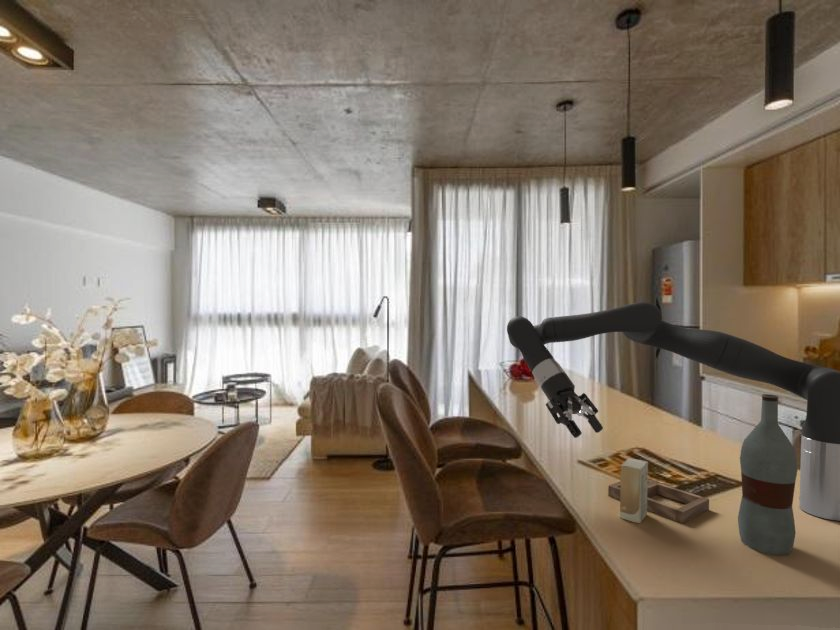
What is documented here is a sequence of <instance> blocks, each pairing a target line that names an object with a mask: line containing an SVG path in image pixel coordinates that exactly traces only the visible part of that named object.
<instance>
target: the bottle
mask: <svg viewBox="0 0 840 630" xmlns="http://www.w3.org/2000/svg"><path fill="white" fill-rule="evenodd" d="M779 398H780V397H779V396H778V395H775V394H771V393H770V394H769V393H766V394H765V393H762V395H761V407H760V408H761V409H760V411H761V412H760V421H759V422H758V423H757V424H756V425H755V427H754V428H753V429H752V431H750V432H749V434H748V435H747V436H746V437H745V438H744V439H743V441H742V445H741V448H740V455H739V461H740V462H739V464H740V473H741V492H742V493H741V494H742V496H741V500H740V505H739V508H738V509H739V510H738V515H737V523H738V524H737V525H738V531H739V532H738V533H739V537H740V540H741V542H742V543H743V544H744V545H746V546H747V547H748V548H750V549H753V550H755V551H758V552H760V553H764V554H766V555H767V554H769V555H773V556H787V555H789V554H790V553H791V552H792V550H793V547H794V544H795V539H796V538H795V537H796V533H797V532H796V525H795V516H794V510H793V502H794V497H795V496H794V495H795V488H796V487H795V486H796V482H797V481H796V480H797V479H796V478H797V474H798V470H799V467H798V458H797V453H796V450H795V447H794V445H793V444H792V442H791V441H790V439H789V438H788V437H787V435H786V433H785V432H784V430H783V429H782V427H781V426H780V424H779V423H778V422H779V421H778V420H779V419H778V418H779Z"/></svg>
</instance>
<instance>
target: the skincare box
mask: <svg viewBox="0 0 840 630" xmlns="http://www.w3.org/2000/svg"><path fill="white" fill-rule="evenodd" d="M648 467H649V462H648V461H646V460H641V459H637V458H636V459H635V458H629V457H628V458H627V459H626V460H625V461H623V462H622V463H621V465H620V481H621V492H620V500H619V503H620V504H619V518H620V519H623V520H626V521H629V522H633V523H636V524H641V522H642V521H643V520H644V519H645V517H646V516H647V514H648V510H647V483H648V480H649V479H648V477H649V476H648V475H649V468H648Z"/></svg>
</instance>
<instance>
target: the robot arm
mask: <svg viewBox="0 0 840 630" xmlns="http://www.w3.org/2000/svg"><path fill="white" fill-rule="evenodd" d="M506 332H507V335H508V340H509V343H510V344H511V345H512V346H513V347H514V348H516V349H518V350H519V352H520V353H521V355H522V358H523V361H524V363H525V364H526V365H527V367H528V369H529V370H530V372H531V373H532V375H533V378H534V379H535V381H536V383H537V384H538V386H539V387H540V389H541V390H542V392H543V393H544V395H545V396H546V398H547V399H548V401H547V402H546V403H545V406H546V408H547V410H548V411H549V413H550V415H551V416H552V418H553V420H554V421H555V423H556V424H558V425H560V424H562V425H563V426H565V427H566V428H567V430H568V432H569V433H570V434H571V435H572V437H573V439H574V438H575V439H577V438H579V437H580V436H581V435H582V432H583V431H581V429H580V427H579V426H578V425H577V423H576V422H575V420H574V419H573V415H576V416H579V417H583V418H584V419H586V420H587V422H588V424H589V425H590V427H591V428H592V429H593V431H594V433H597V434H598V433H600V432H601V431H602V430H603V429H604V426H603V425H602V424H601V423H600V421H599V419H598V418H597V416H596V415H597V413H599V410H598V408H597V407H596V405H595V404H594V403H593V402H592V400H591V399H590V398H589V396H588V395H587V394H586V393H584V392H583V393H582V394H580V395H578V394H577V393H576V392H575V387H576V386H575V384H574V383H573V381H572V380H571V378H570V377H569V376H568V374H567V373H566V371H565V370H564V369H563V367H562V366H561V365H560V363H558V361H557V360H556V359H555V357H554V356H553V355H552V353H551V351H549V349H548V348H547V347H546V346H545V345H548V344H551V343H553V344H554V343H564V342H565V343H566V342H573V341H578V340H583V339H587V338H590V337H594V336H598V335H602V334H603V335H604V334H607V333H623V335H624V336H625V337H626V338H627V339H628V340H630V341H632V342H635V343H638V344H642V345H646V346H649V347H653V348H657V349H660V350H665V351H668V352H670V353H673V354H675V355H676V354H677V355H679V356H681V357H684V358H686V359H688V360H690V361H694V362H697V363H700V364H701V365H704V366H707V367H709V368H712V369H714V370H718V371H720V372H722V373H726V374H729V375H732V376H734V377H739V378H743V379H746V380H751V381H756V382H761V383H766V384H769V385H771V386H775V387H778V388H779V389H780V388H781V389H782V390H785V391H788V392H790V393H792V394H794V395H797V396H798V397H800V398H802V399H804V400H806V401H807V402H806V416H805V420H804V422H803V423H802V425H801V439H800V440H801V445H800V469H799V471H800V472H799V474H800V475H799V496H798V497H799V498H798V499H799V502H798V503H799V504H798V506H799V507H798V508H799V509H800V510H802V511H804V512H805V513H807V514H809V515H812V516H815V517H817V518H818V517H819V518H822V519H826V520H831V521H839V522H840V371H839V370H836V369H833V368H829V367H826V366H825V367H824V366H820V365H816V364H811V363H806V362H803V361H800V360H799V361H798V360H795V359H791V358H787V357H785V356H782V355H780V354H778V353H775V352H773V351H772V350H770V349H767V348H766V347H763V346H761V345H759V344H756V343H754V342H751V341H749V340H746V339H743V338H740V337H738V336H735V335H731V334H729V333H726V332H722V331H719V330H718V331H717V330H709V329H699V328H688V327H687V328H686V327H682V326H679V325H675V324H672V323H670V322H666V321H664V320H663V315H662V311H661V310H660V308H659V307H658V306H656V305H655V304H653V303H650V302H646V301H638V302H634V303H629V304H625V305H621V306H617V307H615V308H610V309H605V310H604V309H603V310H600V311H599V310H598V311H596V312H595V311H594V312H589V313H583V314H581V313H580V314H573V315H563V316H554V317H552V316H551V317H546V318H544V319H543V320H542V322H541V323H539V324H535V325H534V324H533V323H532V322H531V320H529V319H528V318H526V317H524V316H514V317H512V318H511V319H510V320H508V323H507V324H506Z"/></svg>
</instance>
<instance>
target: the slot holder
mask: <svg viewBox="0 0 840 630" xmlns="http://www.w3.org/2000/svg"><path fill="white" fill-rule="evenodd" d="M607 487H608V490H607V492H608V493H607V494H608V495H607V496H608V497H610V498H614V499H616V500H619V501H620V492H621V480H620V481H618V482H615V483H612V484H609V485H608V486H607ZM657 495H659V496H662V497H663V498H664V497H665V498H667V499H671V500H673V501H676V502H679V503H682V504H685V505H682V506H680V507H679V508H678V507H676V506H673V505H670V504H667V503H666V502H665V503H664V502H662V501H659V500H656V499H653V498H652V497H655V496H657ZM709 509H710V499H709V498H708V497H704V496H701V495H698V494H694V493H692V492H689V491H686V490H684V489H683V490H682V489H679V488H676V487H673V486H669V485H667V484H663V483H660V482H658V481H654V480H651V479H648V483H647V512H651V513H654V514H656V515H660V516H662V517H664V518H667V519H671V520H673V521H674V522H678V523H681V524H685V523H686V522H688V521H690V520H692V519H693V518H696V517H697V516H700V515H701V514H703V513H705V512H707V511H709Z"/></svg>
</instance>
